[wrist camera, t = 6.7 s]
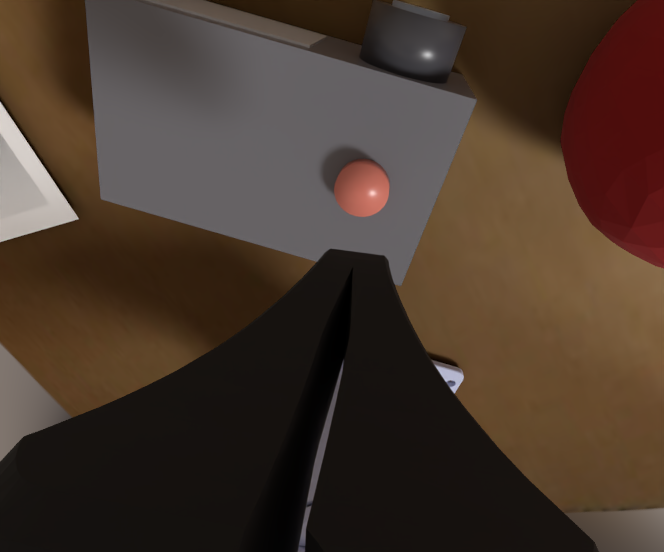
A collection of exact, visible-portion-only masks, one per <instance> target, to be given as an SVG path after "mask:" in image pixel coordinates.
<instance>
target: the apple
mask: <svg viewBox="0 0 664 552" xmlns="http://www.w3.org/2000/svg"><path fill="white" fill-rule="evenodd" d="M560 142H561V147H562V152H563V156H564V161H565V166H566V170H567V175H568V180H569V182H570V184H571V187H572V189H573V192H574V194H575V197H576V199H577V201H578V204H579V206H580V207H581V209H582V210H583V212H584V213H585V215H586V216H587V218H588V219H589V221H590V222H591V224H592V225H593V226H594V227H596V228H597V229H598V230H599V231H600V232H601V233H603V234H604V235H605V236H606V237H607V238H608V239H610V240H611V241H612V242H613V243H615V244H616V245H618V246H619V247H621V248H623V249H624V250H626V251H628V252H629V253H631V254H633V255H635V256H637V257H639V258H641V259H643V260H645V261H647V262H649V263H651V264H653V265H655V266H658V267H661V268H664V0H637V1H636V2H635V3H634V4H633V5H632V6H631V7H630V8H629V9H628V10H627V11H626V12H624V13H623V14H622V15H621V16H620V17H619V19H618V20H617V21H616V22H615V23H614V25H613V26H612V27H611V29H610V30H609V31H608V33H607V34H606V35H605V37H604V38H603V39H602V41H601V42H600V43H599V45H598V46H597V48H596V49H595V50H594V52H593V53H592V54H591V56H590V58H589V60H588V62H587V64H586V66H585V68H584V70H583V72H582V73H581V75H580V77H579V79H578V81H577V83H576V85H575V87H574V89H573V91H572V93H571V96H570V99H569V102H568V105H567V108H566V111H565V114H564V120H563V127H562V133H561V140H560Z"/></svg>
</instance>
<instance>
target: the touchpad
mask: <svg viewBox="0 0 664 552" xmlns="http://www.w3.org/2000/svg"><path fill="white" fill-rule="evenodd" d="M78 219H79V218H78V217H77V215H76V214H75V212H74V211H73V209H72V208H71V206H70V205H69V203H68V202H67V200H66V199H65V197H64V196H63V194H62V193H61V191H60V190H59V188H58V187H57V185H56V184H55V182H54V181H53V180H52V178H51V177H50V175H49V174H48V172H47V171H46V169H45V168H44V166H43V165H42V163H41V162H40V160H39V159H38V157H37V156H36V154H35V153H34V151H33V150H32V148H31V147H30V145H29V144H28V142H27V141H26V139H25V138H24V136H23V135H22V133H21V132H20V130H19V129H18V127H17V126H16V124H15V123H14V122H13V120H12V119H11V117H10V116H9V114H8V113H7V111H6V110H5V108H4V107H3V105H2V104H1V102H0V242H2V241H5V240H9V239H12V238H16V237H19V236H23V235H26V234H29V233H33V232H36V231H40V230H43V229H47V228H50V227H54V226H57V225H60V224H64V223H67V222H71V221H74V220H78Z"/></svg>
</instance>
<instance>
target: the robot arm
mask: <svg viewBox="0 0 664 552" xmlns="http://www.w3.org/2000/svg"><path fill="white" fill-rule="evenodd" d="M463 378H464V376H463V371H462V370H461V369H460V368H458V367H455V366H451V365H448V364H444V363H441V362H437V361H434V360H431V358H430V357H429V355H428V354H427V352H426V350H425V348H424V347H423V345H422V343H421V341H420V339H419V338H418V336H417V334H416V332H415V330H414V328H413V326H412V324H411V322H410V320H409V318H408V316H407V314H406V311H405V309H404V307H403V305H402V302H401V300H400V298H399V295H398V293H397V290H396V287H395V284H394V281H393V278H392V275H391V271H390V267H389V261H388V259H387V258H386V257H385V256H384V255H377V254H369V253H361V252H354V251H346V250H338V249H331V248H330V249H329V250H328V251H326V252H325V253H324V254H323V256H322V257H321V258H320V259H319V260H318V261H317V263H316V264H315V265H314V266H313V267H312V268H311V269H310V270H309V271H308V272H307V273H306V274H305V275H304V276H303V278H302V279H300V280H299V281H298V282H297V283H296V284H295V285H294V286H293V287H292V288H291V289H290V290H289V291H288V292H287V293H286V294H285V295H284V296H283V297H282V298H281V299H279V300H278V301H277V302H276V303H275V304H274V305H272V306H271V307H270V308H269V309H268V310H266V311H265V312H264V313H263V314H262V315H260V316H259V317H258V318H257V319H256V320H254V321H253V322H252V323H250V324H249V325H248V326H246V327H245V328H244V329H242V330H241V331H240V332H238V333H237V334H235V335H234V336H232V337H231V338H230V339H228V340H227V341H225V342H224V343H222V344H221V345H219V346H218V347H216V348H214V349H213V350H211V351H210V352H208V353H206V354H205V355H203V356H201V357H199V358H198V359H196V360H194V361H192V362H191V363H189V364H187V365H186V366H184V367H182V368H180V369H179V370H177V371H175V372H173V373H171V374H169V375H167V376H165V377H163V378H161V379H159V380H157V381H155V382H153V383H151V384H149V385H147V386H145V387H143V388H141V389H139V390H137V391H134V392H132V393H130V394H128V395H126V396H124V397H122V398H119V399H117V400H115V401H113V402H110V403H108V404H106V405H103V406H101V407H99V408H96V409H93V410H91V411H88V412H86V413H83V414H81V415H78V416H76V417H73V418H71V419H68V420H66V421H63V422H61V423H58V424H56V425H53V426H51V427H48V428H46V429H43V430H40V431H38V432H35V433H32V434H29V435H27V436H24V437H23V438H22V439H21V440H20V441H19V442H18V443H17V444H16V445H15V446H14V448H13V449H12V450H11V451H10V452H9V453H8V454H7V455H6V456H5V457H4V458H3V460H2V461H1V462H0V552H599V551H598V549H597V547H596V544H595V542H594V541H593V540H592V539H591V538H590V537H589V536H588V535H586V534H585V533H584V532H583V531H582V530H581V529H580V528H579V527H578V526H577V525H576V524H575V523H574V522H573V521H572V520H570V519H569V517H567V516H566V515H565V514H564V513H563V512H562V511H561V510H560V509H559V508H558V507H557V506H556V505H555V504H554V503H553V502H552V501H550V500H549V499H548V498H547V497H546V496H545V495H544V494H543V493H542V492H541V491H540V490H539V489H538V488H537V487H536V486H535V485H534V484H532V483H531V482H530V481H529V480H528V479H527V478H526V477H525V476H524V475H523V474H522V472H521V471H520V470H519V469H518V468H517V467H516V466H515V465H514V464H513V463H512V462H511V461H510V460H509V459H508V458H507V457H506V455H505V454H504V453H503V452H502V451H501V450H500V449H499V448H498V447H497V446H496V444H495V443H494V442H493V441H492V440H491V438H490V437H489V436H488V435H487V434H486V432H485V431H484V430H483V429H482V428H481V426H480V425H479V424H478V423H477V422H476V420H475V419H474V418H473V417H472V416H471V414H470V413H469V412H468V411H467V410H466V408H465V407H464V406H463V405H462V403H461V402H460V401H459V399H458V398H457V397H456V395H455V394H454V393H455V392H456V390H457V389H458V387H459V385H460V384H461V382H462V380H463ZM449 380H453V381H452V382H449Z"/></svg>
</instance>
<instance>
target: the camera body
mask: <svg viewBox="0 0 664 552" xmlns="http://www.w3.org/2000/svg"><path fill="white" fill-rule="evenodd" d="M85 6H86V19H87V32H88V44H89V57H90V69H91V82H92V95H93V107H94V120H95V132H96V145H97V157H98V170H99V183H100V195H101V199H102V200H105V201H109V202H112V203H116V204H119V205H123V206H126V207H130V208H133V209H136V210H140V211H143V212H147V213H150V214H154V215H157V216H161V217H164V218H168V219H171V220H175V221H178V222H181V223H185V224H188V225H192V226H195V227H199V228H202V229H206V230H209V231H213V232H216V233H219V234H223V235H226V236H230V237H233V238H237V239H240V240H244V241H247V242H251V243H254V244H257V245H261V246H264V247H268V248H271V249H275V250H278V251H282V252H285V253H289V254H292V255H296V256H299V257H302V258H306V259H309V260H313V261H316V262H317V261H318V260H319V259H320V258H321V257H322V256H323V254H324V253H325V252H326V251H328V250H329V249H330V248H331V249H338V250H346V251H354V252H361V253H369V254H377V255H384V256H385V257H386V258H387V259H388V261H389V267H390V271H391V275H392V278H393V281H394V284H396V285H399V286H401V285H402V282H403V280H404V277H405V275H406V272H407V270H408V267H409V265H410V263H411V260H412V258H413V255H414V253H415V250H416V248H417V246H418V243H419V241H420V238H421V236H422V233H423V231H424V228H425V226H426V224H427V221H428V219H429V216H430V214H431V211H432V209H433V206H434V204H435V202H436V199H437V197H438V194H439V192H440V189H441V187H442V185H443V182H444V180H445V177H446V175H447V172H448V170H449V167H450V165H451V163H452V160H453V158H454V155H455V153H456V150H457V148H458V146H459V143H460V141H461V138H462V136H463V133H464V131H465V128H466V126H467V124H468V121H469V119H470V116H471V114H472V111H473V109H474V106H475V104H476V102H477V99H476V97H475V95H474V94H473V92H472V90H471V88H470V87H469V85H468V83H467V81H466V80H465V78H464V76H463V75H462V74H458V73H455V72H451V70H452V67H453V64H454V61H455V59H456V56H457V53H458V50H459V47H460V45H461V42H462V39H463V36H464V34H465V31H466V28H467V27H466V26H463V25H461V24H458V23H455V22H452V21H449V17H450V16H449V15H446V14H443V13H440V12H437V11H433V10H430V9H427V8H423V7H420V6H416V5H413V4H409V3H405V2H402V1H398V0H393V3H392V4H391V3H387V2H382V1H378V0H373V3H372V7H371V11H370V15H369V19H368V23H367V27H366V31H365V35H364V39H363V43H362V45H358V44H355V43H351V42H348V41H344V40H341V39H338V38H334V37H331V36H327V35H324V34H320V33H317V32H313V31H310V30H307V29H303V28H300V27H296V26H293V25H289V24H286V23H282V22H279V21H275V20H272V19H269V18H265V17H262V16H258V15H255V14H251V13H248V12H244V11H241V10H238V9H234V8H231V7H227V6H224V5H220V4H217V3H213V2H210V1H206V0H85Z"/></svg>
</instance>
